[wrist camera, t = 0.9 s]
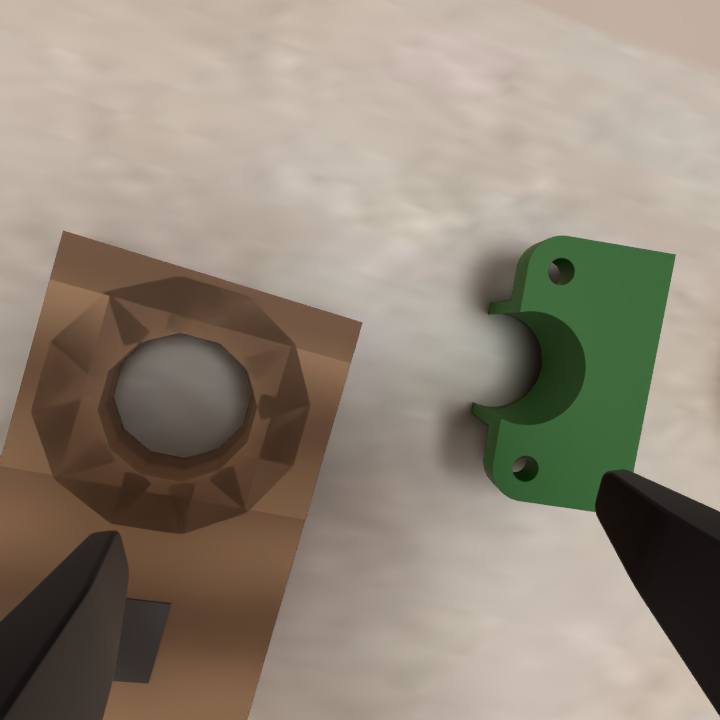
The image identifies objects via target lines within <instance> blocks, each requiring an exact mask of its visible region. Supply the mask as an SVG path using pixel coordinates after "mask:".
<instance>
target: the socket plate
mask: <svg viewBox="0 0 720 720" xmlns="http://www.w3.org/2000/svg"><path fill="white" fill-rule="evenodd" d="M361 326H362V322H359V321H356V320H352V319H349V318H346V317H343V316H339V315H336V314H333V313H330V312H326V311H323V310H320V309H317V308H313V307H310V306H307V305H303V304H300V303H297V302H294V301H290V300H287V299H284V298H281V297H277V296H274V295H271V294H268V293H264V292H261V291H258V290H255V289H251V288H248V287H245V286H242V285H238V284H235V283H232V282H229V281H225V280H222V279H219V278H216V277H212V276H209V275H206V274H202V273H199V272H196V271H193V270H189V269H186V268H183V267H180V266H176V265H173V264H170V263H167V262H163V261H160V260H157V259H154V258H150V257H147V256H144V255H141V254H137V253H134V252H131V251H128V250H124V249H121V248H118V247H115V246H111V245H108V244H105V243H101V242H98V241H95V240H92V239H88V238H85V237H82V236H79V235H75V234H72V233H69V232H66V231H63V233H62V237H61V241H60V244H59V248H58V252H57V255H56V259H55V263H54V266H53V270H52V273H51V277H50V281H49V284H48V288H47V292H46V295H45V299H44V303H43V306H42V310H41V313H40V317H39V321H38V324H37V328H36V332H35V335H34V339H33V343H32V346H31V350H30V354H29V357H28V361H27V364H26V368H25V372H24V375H23V379H22V383H21V386H20V390H19V394H18V397H17V401H16V405H15V408H14V412H13V415H12V419H11V423H10V426H9V430H8V434H7V437H6V441H5V445H4V448H3V452H2V455H1V459H0V620H1V619H2V618H4V617H5V616H6V615H7V614H8V613H9V612H10V611H11V610H12V609H13V608H14V607H15V606H16V605H17V604H18V603H19V602H20V601H21V600H22V599H23V598H24V597H25V596H26V595H27V594H28V593H29V592H30V591H32V590H33V589H34V588H35V587H36V586H37V585H38V584H39V583H40V582H41V581H42V580H43V579H44V578H45V577H46V576H47V575H48V574H49V573H50V572H51V571H52V570H53V569H54V568H55V567H56V566H57V565H58V564H60V563H61V562H62V561H63V560H64V559H65V558H66V557H67V556H68V555H69V554H70V553H71V552H72V551H73V550H74V549H75V548H76V547H77V546H78V545H79V544H80V543H81V542H82V541H83V540H84V539H85V538H86V537H88V536H89V535H90V534H92V533H95V532H101V531H110V530H116V531H118V532H119V533H120V535H121V538H122V542H123V546H124V550H125V554H126V557H127V561H128V566H129V581H128V588H127V595H126V602H125V609H124V615H123V622H122V629H121V636H120V643H119V650H118V656H117V662H116V668H115V673H114V678H113V682H112V686H111V690H110V694H109V698H108V702H107V706H106V710H105V713H104V717H103V720H247V719H248V715H249V712H250V708H251V705H252V701H253V698H254V694H255V691H256V688H257V684H258V681H259V677H260V674H261V670H262V667H263V663H264V660H265V657H266V653H267V650H268V646H269V643H270V639H271V636H272V632H273V629H274V626H275V622H276V619H277V615H278V612H279V608H280V605H281V601H282V598H283V595H284V591H285V588H286V584H287V581H288V577H289V574H290V570H291V567H292V564H293V560H294V557H295V553H296V550H297V546H298V543H299V539H300V536H301V533H302V529H303V526H304V522H305V519H306V515H307V512H308V508H309V505H310V502H311V498H312V495H313V491H314V488H315V484H316V481H317V477H318V474H319V471H320V467H321V464H322V460H323V457H324V453H325V450H326V446H327V443H328V440H329V436H330V433H331V429H332V426H333V422H334V419H335V415H336V412H337V409H338V405H339V402H340V398H341V395H342V391H343V388H344V384H345V381H346V378H347V374H348V371H349V367H350V364H351V360H352V357H353V353H354V350H355V347H356V343H357V340H358V336H359V333H360V329H361ZM178 333H183V334H187V335H190V336H194V337H198V338H202V339H205V340H209V341H213V342H216V343H220V344H221V345H222V346H223V347H224V348H225V349H226V350H227V351H228V352H229V353H230V354H231V355H232V356H233V357H234V358H236V359H237V360H238V361H239V362H240V363H241V364H242V365H243V366H244V367H245V370H246V373H247V377H248V381H249V385H250V388H251V392H252V395H251V399H250V402H249V406H248V409H247V413H246V416H245V420H244V423H243V425H242V426H241V427H240V428H239V429H238V430H237V431H236V432H235V433H234V434H233V435H232V436H231V437H230V438H229V439H228V440H227V441H226V442H225V443H224V444H223V445H222V446H221V447H220V448H219V449H216V450H213V451H209V452H206V453H202V454H199V455H196V456H192V457H189V458H186V459H185V458H180V457H175V456H170V455H165V454H160V453H155V452H150V451H149V450H148V449H147V448H145V447H144V446H143V445H142V444H141V443H140V442H138V441H137V440H136V439H135V438H134V437H133V436H131V435H130V434H129V433H128V432H127V431H126V430H124V428H123V425H122V422H121V419H120V416H119V412H118V409H117V406H116V403H115V400H114V397H113V395H114V391H115V388H116V384H117V381H118V377H119V373H120V370H121V366H122V363H123V361H124V360H125V359H126V358H128V357H129V356H130V355H131V354H132V353H133V352H134V351H135V350H136V349H137V348H138V347H139V346H141V345H142V344H143V343H144V342H145V341H148V340H152V339H157V338H161V337H165V336H169V335H174V334H178Z"/></svg>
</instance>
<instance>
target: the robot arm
mask: <svg viewBox="0 0 720 720" xmlns="http://www.w3.org/2000/svg"><path fill="white" fill-rule="evenodd" d="M595 512H596V515H597V517H598V519H599V521H600V523H601V525H602V527H603V529H604V530H605V532H606V534H607V536H608V538H609V540H610V542H611V544H612V545H613V547H614V549H615V551H616V553H617V555H618V557H619V559H620V560H621V562H622V564H623V566H624V568H625V570H626V572H627V574H628V575H629V577H630V579H631V581H632V582H633V584H634V586H635V588H636V589H637V591H638V592H639V594H640V596H641V597H642V599H643V600H644V602H645V603H646V605H647V606H648V608H649V609H650V611H651V613H652V614H653V616H654V617H655V619H656V620H657V622H658V623H659V625H660V626H661V628H662V629H663V631H664V632H665V634H666V635H667V637H668V638H669V640H670V641H671V643H672V644H673V646H674V647H675V649H676V651H677V652H678V654H679V655H680V657H681V658H682V660H683V661H684V663H685V664H686V666H687V667H688V669H689V670H690V672H691V673H692V675H693V676H694V678H695V679H696V681H697V682H698V684H699V685H700V687H701V689H702V690H703V692H704V693H705V695H706V696H707V698H708V699H709V701H710V702H711V704H712V705H713V707H714V708H715V710H716V711H717V713H718V714H719V716H720V512H719V511H717V510H715V509H713V508H710V507H708V506H706V505H704V504H702V503H699V502H697V501H695V500H693V499H691V498H688V497H686V496H684V495H682V494H680V493H677V492H675V491H673V490H671V489H669V488H666V487H664V486H662V485H660V484H657V483H655V482H653V481H651V480H649V479H646V478H644V477H642V476H640V475H638V474H635V473H633V472H631V471H629V470H625V469H621V470H612V471H607V472H605V473H604V474H603V475H602V478H601V482H600V486H599V489H598V493H597V497H596V501H595ZM128 581H129V566H128V561H127V557H126V554H125V550H124V546H123V542H122V538H121V535H120V533H119V532H118V531H116V530H110V531H101V532H95V533H92V534H90V535H89V536H88V537H86V538H85V539H84V540H83V541H82V542H81V543H80V544H79V545H78V546H77V547H76V548H75V549H74V550H73V551H72V552H71V553H70V554H69V555H68V556H67V557H66V558H65V559H64V560H63V561H62V562H61V563H60V564H58V565H57V566H56V567H55V568H54V569H53V570H52V571H51V572H50V573H49V574H48V575H47V576H46V577H45V578H44V579H43V580H42V581H41V582H40V583H39V584H38V585H37V586H36V587H35V588H34V589H33V590H32V591H30V592H29V593H28V594H27V595H26V596H25V597H24V598H23V599H22V600H21V601H20V602H19V603H18V604H17V605H16V606H15V607H14V608H13V609H12V610H11V611H10V612H9V613H8V614H7V615H6V616H5V617H4V618H2V619H1V620H0V720H103V717H104V713H105V710H106V706H107V702H108V698H109V694H110V690H111V686H112V682H113V678H114V673H115V668H116V662H117V656H118V650H119V643H120V636H121V629H122V622H123V615H124V609H125V602H126V595H127V588H128Z"/></svg>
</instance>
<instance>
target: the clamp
mask: <svg viewBox="0 0 720 720" xmlns="http://www.w3.org/2000/svg"><path fill="white" fill-rule="evenodd" d="M675 256H676V255H675V254H669V253H663V252H658V251H652V250H646V249H640V248H634V247H628V246H623V245H617V244H611V243H605V242H599V241H593V240H587V239H582V238H576V237H570V236H555V237H552V238H549V239H547V240H544V241H542V242H539V243H537V244H535V245H533V246H531V247H530V248H528V249H527V250H526V251H525V252H524V254H523V255H522V256H521V258H520V260H519V262H518V265H517V270H516V276H515V281H514V287H513V293H512V298H511V300H509V301H503V302H496V303H490V308H489V313H488V314H505V315H509V316H513V317H515V318H517V319H519V320H521V321H522V322H523V323H525V324H526V325H527V326H528V327H529V328H530V329H531V330H532V331H533V333H534V334H535V336H536V338H537V340H538V342H539V345H540V348H541V353H542V366H541V371H540V374H539V377H538V379H537V382H536V383H535V385H534V387H533V388H532V389H531V391H530V392H529V393H528V394H527V395H526V396H524V397H523V398H522V399H520V400H519V401H517V402H515V403H513V404H510V405H507V406H503V407H486V406H482V405H479V404H476V403H474V402H473V406H472V411H471V413H472V414H474V415H475V416H477V417H478V418H480V419H481V420H483V421H484V422H486V423H487V424H489V429H488V435H487V440H486V446H485V452H484V458H483V463H484V469H485V472H486V474H487V476H488V478H489V479H490V480H491V481H492V482H493V483H494V484H495V486H496V487H497V488H498V489H499V490H500V491H501V492H502V493H503V494H505V495H506V496H507V497H509V498H511V499H514V500H517V501H523V502H530V503H537V504H544V505H551V506H558V507H565V508H572V509H579V510H586V511H593V512H595V501H596V497H597V493H598V489H599V486H600V482H601V478H602V475H603V474H604V473H605V472H607V471H612V470H621V469H625V470H629V471H631V472H633V471H634V466H635V461H636V456H637V451H638V445H639V440H640V435H641V430H642V425H643V420H644V415H645V410H646V404H647V399H648V394H649V389H650V384H651V379H652V374H653V369H654V363H655V358H656V353H657V348H658V343H659V338H660V333H661V328H662V323H663V317H664V312H665V307H666V302H667V297H668V292H669V287H670V282H671V276H672V271H673V266H674V261H675ZM551 263H554V264H555V265H556V266H557V267H558V268H559V271H560V279H559V281H558V283H557V284H555V283H553V282H552V281H551V280H550V278H549V276H548V268H549V265H550V264H551ZM522 456H526V459H527V460H526V465H525V466H524V468H523V469H522V470H520V471H518V472H513V471H512V468H513V464H514V462H515V461H516V460H517V459H518V458H519V457H522Z"/></svg>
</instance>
